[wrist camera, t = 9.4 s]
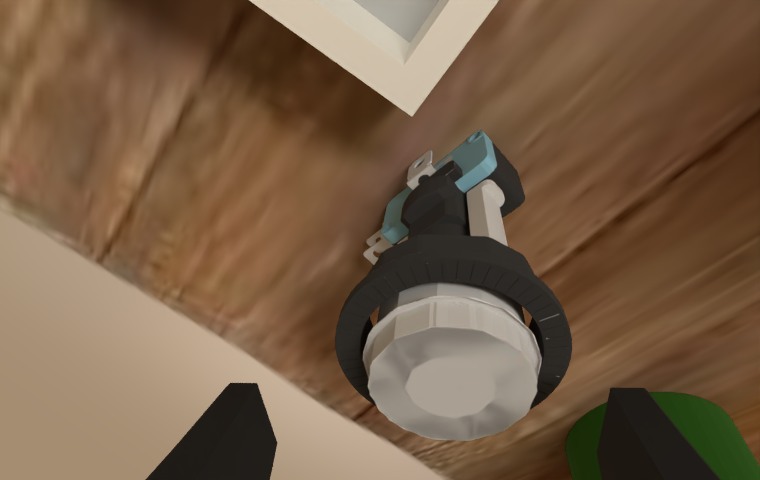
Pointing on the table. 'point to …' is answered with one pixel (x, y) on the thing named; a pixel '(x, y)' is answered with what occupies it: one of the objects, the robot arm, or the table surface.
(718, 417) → the candle
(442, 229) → the push button
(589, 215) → the table surface
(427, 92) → the bay
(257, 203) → the table surface
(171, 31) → the table surface
